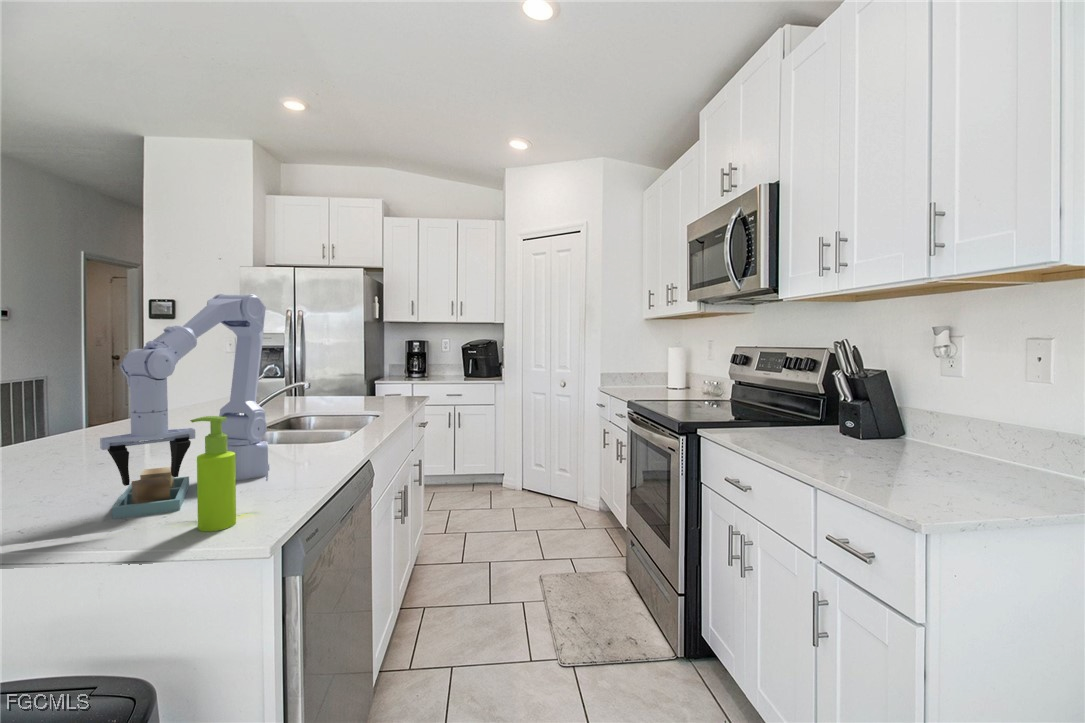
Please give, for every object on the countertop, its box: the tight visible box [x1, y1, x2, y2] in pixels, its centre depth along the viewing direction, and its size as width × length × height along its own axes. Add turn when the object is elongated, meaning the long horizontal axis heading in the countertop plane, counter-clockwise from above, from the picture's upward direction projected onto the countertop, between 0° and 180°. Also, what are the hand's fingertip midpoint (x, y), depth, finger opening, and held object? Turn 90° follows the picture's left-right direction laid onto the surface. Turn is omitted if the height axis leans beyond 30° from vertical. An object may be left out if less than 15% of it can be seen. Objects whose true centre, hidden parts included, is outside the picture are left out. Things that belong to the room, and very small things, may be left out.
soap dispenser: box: [189, 415, 237, 532], centre depth 92 cm, size 6×7×20 cm
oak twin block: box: [139, 466, 175, 488], centre depth 106 cm, size 5×5×5 cm
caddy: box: [111, 476, 190, 520], centre depth 102 cm, size 10×18×3 cm, turn 30°
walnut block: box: [131, 476, 170, 504], centre depth 98 cm, size 5×5×5 cm
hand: (151, 480), depth 98 cm, fingers open, 7 cm apart
